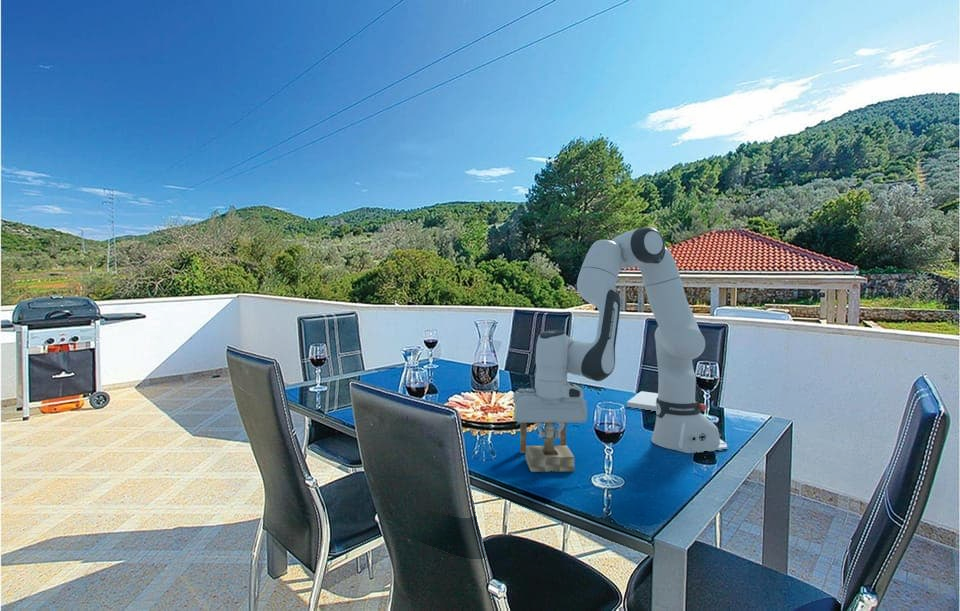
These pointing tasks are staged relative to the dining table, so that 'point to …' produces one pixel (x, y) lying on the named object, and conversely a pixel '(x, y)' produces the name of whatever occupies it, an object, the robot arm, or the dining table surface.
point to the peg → (549, 437)
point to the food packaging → (643, 401)
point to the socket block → (549, 459)
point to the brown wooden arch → (523, 437)
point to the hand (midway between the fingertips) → (549, 437)
